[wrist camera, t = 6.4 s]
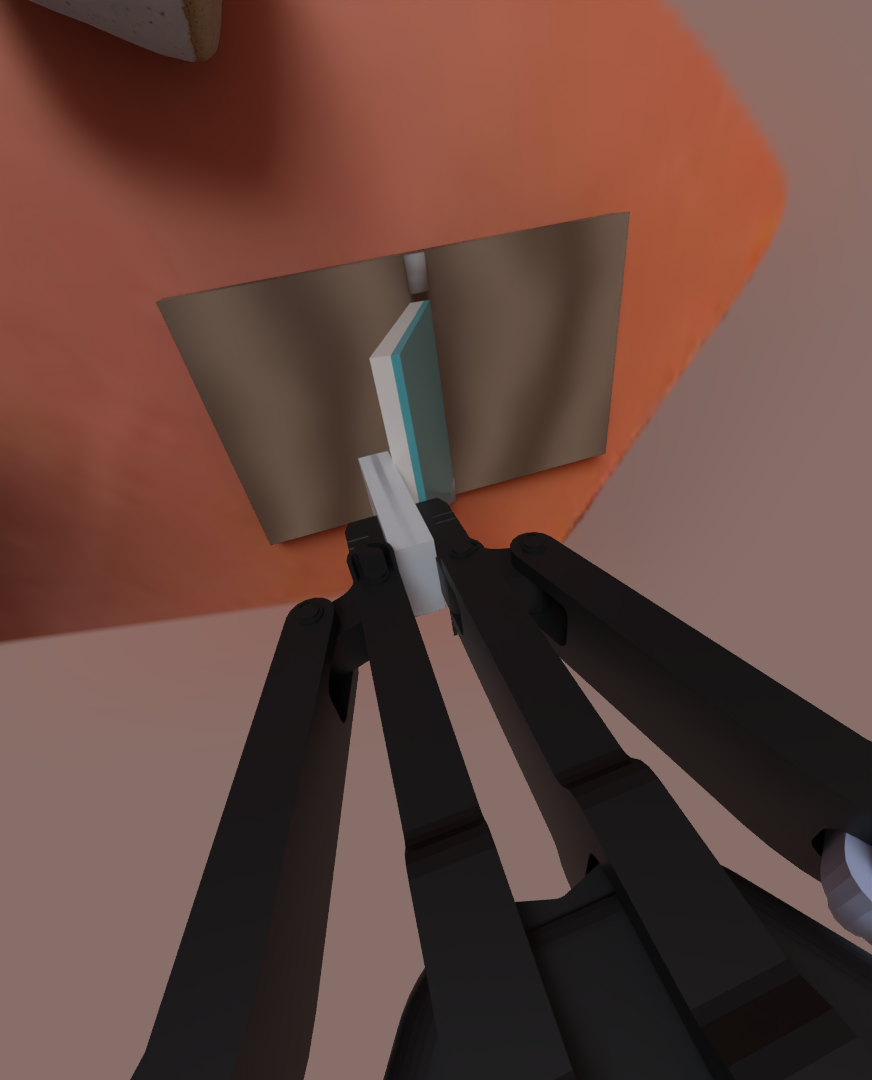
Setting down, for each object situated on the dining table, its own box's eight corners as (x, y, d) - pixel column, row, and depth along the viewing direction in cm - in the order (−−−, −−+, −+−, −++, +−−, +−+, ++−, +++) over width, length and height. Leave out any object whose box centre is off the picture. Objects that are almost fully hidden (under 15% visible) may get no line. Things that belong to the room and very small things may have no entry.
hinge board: (271, 532, 29) (270, 554, 27) (163, 298, 21) (150, 304, 19) (593, 445, 32) (613, 458, 30) (612, 213, 24) (642, 210, 22)
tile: (420, 584, 20) (441, 583, 20) (369, 358, 14) (399, 354, 14) (437, 476, 28) (453, 475, 28) (410, 302, 22) (429, 300, 22)
